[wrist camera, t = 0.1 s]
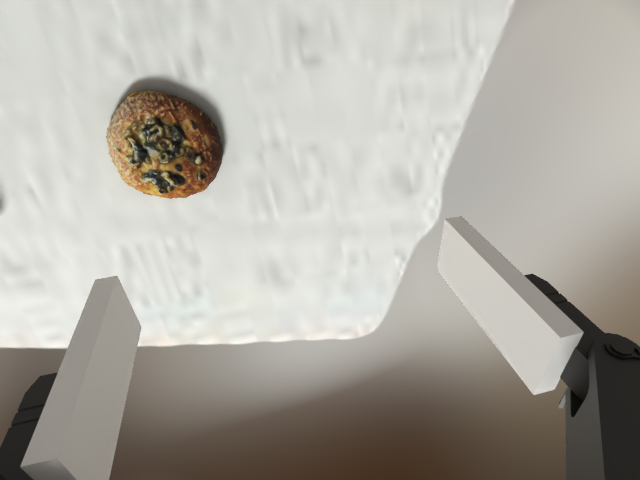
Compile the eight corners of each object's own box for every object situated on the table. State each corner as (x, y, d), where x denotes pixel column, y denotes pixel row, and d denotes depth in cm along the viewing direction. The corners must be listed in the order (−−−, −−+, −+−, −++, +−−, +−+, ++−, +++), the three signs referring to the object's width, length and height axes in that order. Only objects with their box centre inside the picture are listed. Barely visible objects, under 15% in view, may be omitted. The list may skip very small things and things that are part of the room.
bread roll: (245, 154, 41) (242, 175, 37) (170, 206, 44) (159, 231, 40) (168, 62, 35) (154, 74, 31) (86, 129, 38) (63, 148, 34)
